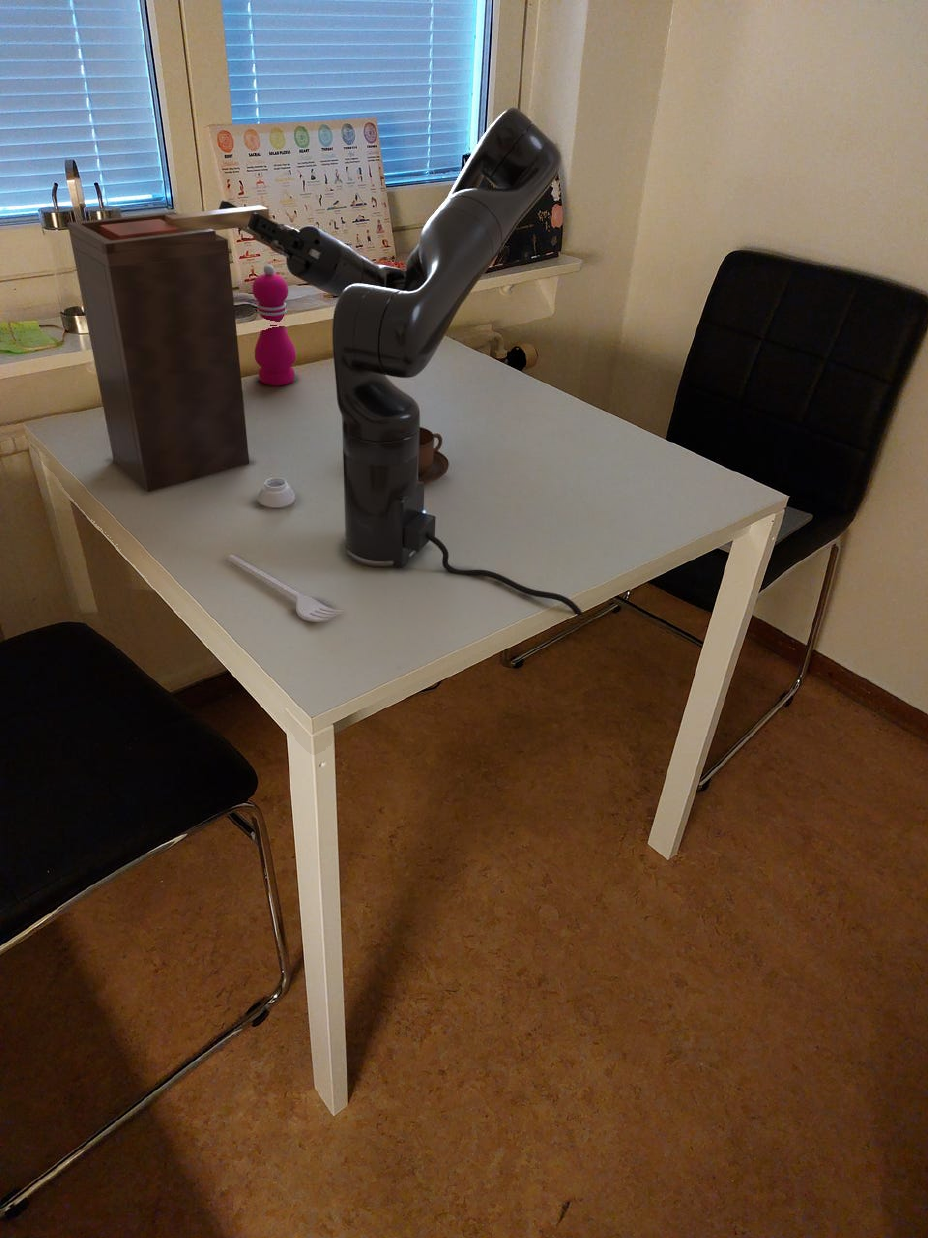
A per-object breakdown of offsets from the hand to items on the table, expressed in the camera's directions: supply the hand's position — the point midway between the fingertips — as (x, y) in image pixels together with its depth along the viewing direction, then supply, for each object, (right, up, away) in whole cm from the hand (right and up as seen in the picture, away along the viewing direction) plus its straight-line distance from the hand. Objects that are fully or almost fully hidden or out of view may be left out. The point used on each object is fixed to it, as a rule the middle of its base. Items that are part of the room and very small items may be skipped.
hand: (235, 213), depth 121 cm
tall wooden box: (-11, -31, +13) cm, 36 cm away
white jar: (+5, -39, +5) cm, 39 cm away
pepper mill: (-3, -12, +41) cm, 43 cm away
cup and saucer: (+23, -33, +14) cm, 42 cm away
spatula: (-5, -4, -3) cm, 7 cm away
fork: (+9, -52, -13) cm, 54 cm away
